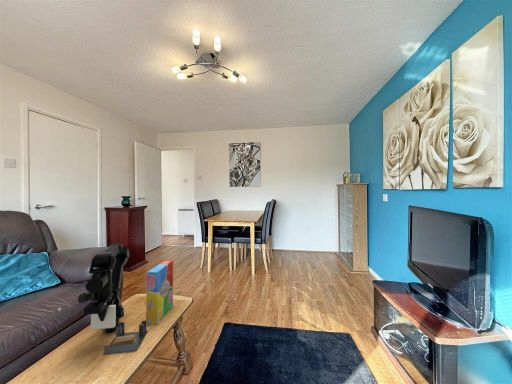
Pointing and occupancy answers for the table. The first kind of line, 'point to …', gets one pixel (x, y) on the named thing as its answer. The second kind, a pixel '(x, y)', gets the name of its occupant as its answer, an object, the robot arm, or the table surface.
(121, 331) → the rack
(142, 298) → the table surface
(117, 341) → the offcut upper
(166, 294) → the game box
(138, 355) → the table surface
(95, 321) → the panel
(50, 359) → the table surface
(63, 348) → the table surface
